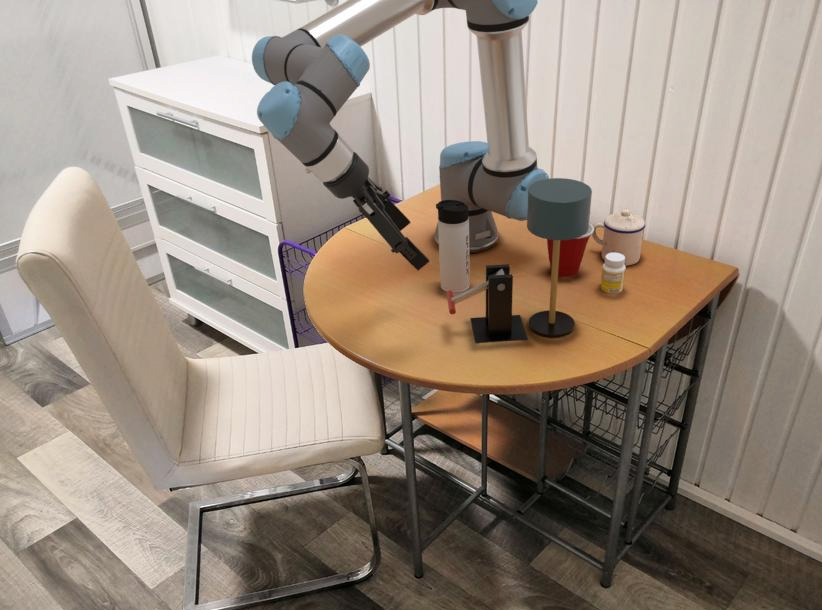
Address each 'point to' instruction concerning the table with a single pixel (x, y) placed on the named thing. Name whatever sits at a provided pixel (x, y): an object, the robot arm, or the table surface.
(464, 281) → the travel mug
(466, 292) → the switch lever
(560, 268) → the plastic cup
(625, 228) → the lidded enamel mug
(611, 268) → the supplement bottle
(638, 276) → the table surface
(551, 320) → the desk lamp
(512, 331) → the switch base
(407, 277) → the table surface
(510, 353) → the table surface
